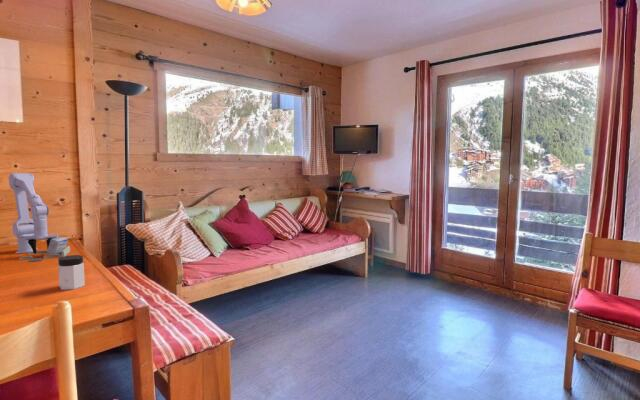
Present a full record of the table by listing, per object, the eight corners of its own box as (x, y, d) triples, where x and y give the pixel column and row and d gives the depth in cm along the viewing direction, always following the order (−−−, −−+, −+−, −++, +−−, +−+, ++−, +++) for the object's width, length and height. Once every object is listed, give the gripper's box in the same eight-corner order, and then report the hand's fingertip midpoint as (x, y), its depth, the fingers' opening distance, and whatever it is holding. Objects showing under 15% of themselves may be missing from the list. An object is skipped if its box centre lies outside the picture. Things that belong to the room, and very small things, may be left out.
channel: (28, 254, 198) (28, 248, 198) (70, 251, 206) (69, 246, 206) (19, 260, 186) (19, 254, 185) (64, 256, 193) (64, 251, 193)
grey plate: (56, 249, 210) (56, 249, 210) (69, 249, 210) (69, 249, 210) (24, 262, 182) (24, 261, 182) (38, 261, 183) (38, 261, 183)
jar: (54, 290, 140) (52, 260, 139) (64, 284, 148) (62, 255, 147) (80, 289, 142) (79, 259, 141) (88, 282, 150) (87, 254, 149)
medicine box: (53, 256, 193) (58, 241, 193) (45, 253, 193) (50, 238, 193) (64, 253, 201) (68, 238, 201) (56, 250, 201) (61, 236, 201)
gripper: (21, 229, 187) (22, 255, 188) (55, 228, 193) (56, 253, 194) (25, 227, 194) (27, 252, 195) (58, 226, 199) (59, 250, 201)
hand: (42, 252), depth 195 cm, fingers open, 5 cm apart
